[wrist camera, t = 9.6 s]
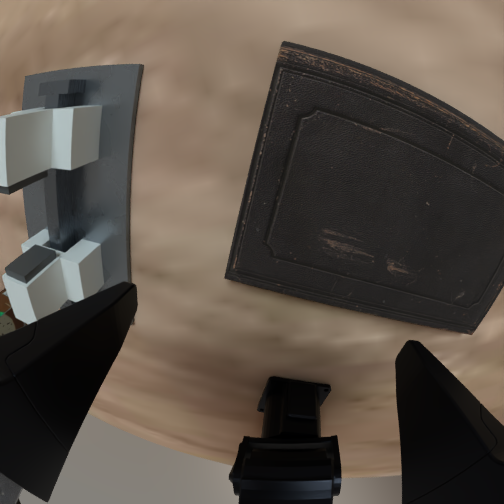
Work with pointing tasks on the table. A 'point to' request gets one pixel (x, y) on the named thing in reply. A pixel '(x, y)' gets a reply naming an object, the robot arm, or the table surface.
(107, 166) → the rail
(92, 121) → the block
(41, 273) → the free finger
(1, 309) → the food container
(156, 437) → the table surface
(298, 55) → the hardcover book
